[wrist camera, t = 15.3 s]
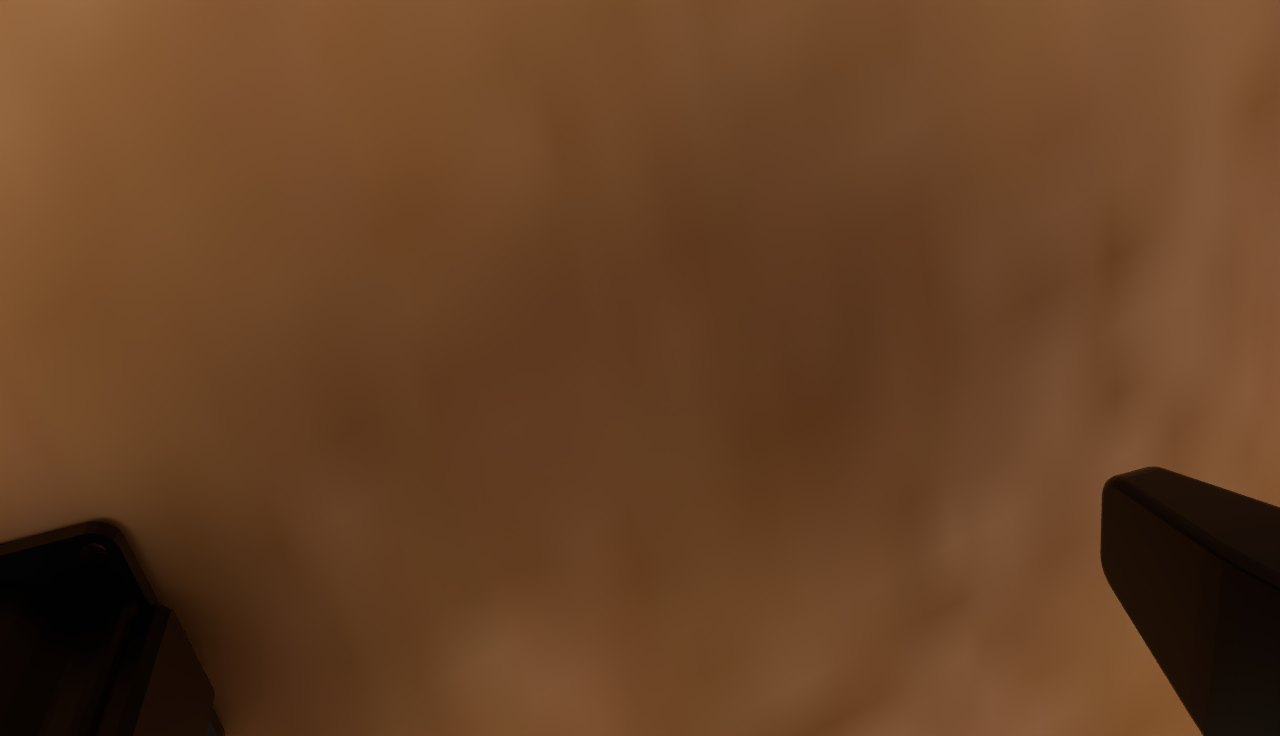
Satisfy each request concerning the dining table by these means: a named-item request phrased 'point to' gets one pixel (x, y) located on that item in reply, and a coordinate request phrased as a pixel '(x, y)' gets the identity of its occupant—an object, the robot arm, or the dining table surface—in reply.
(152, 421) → the dining table surface
